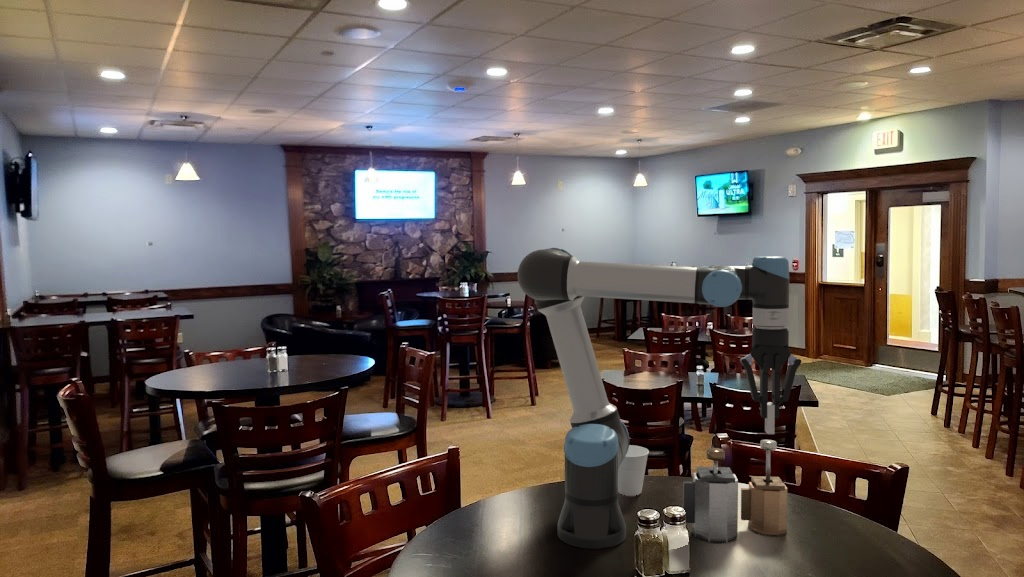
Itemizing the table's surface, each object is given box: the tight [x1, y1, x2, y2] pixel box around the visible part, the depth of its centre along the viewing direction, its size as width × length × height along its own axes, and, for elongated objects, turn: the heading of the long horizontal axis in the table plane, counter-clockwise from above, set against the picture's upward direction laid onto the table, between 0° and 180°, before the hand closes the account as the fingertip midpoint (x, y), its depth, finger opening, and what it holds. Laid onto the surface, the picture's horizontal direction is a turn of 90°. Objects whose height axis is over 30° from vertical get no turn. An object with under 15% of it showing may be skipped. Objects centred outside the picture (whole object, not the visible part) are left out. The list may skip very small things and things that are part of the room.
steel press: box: [682, 466, 739, 544], centre depth 160 cm, size 12×10×14 cm
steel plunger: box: [706, 447, 726, 483], centre depth 159 cm, size 7×7×13 cm
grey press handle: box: [754, 439, 779, 491], centre depth 162 cm, size 6×6×11 cm
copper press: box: [740, 475, 788, 538], centre depth 162 cm, size 10×8×11 cm
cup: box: [618, 444, 650, 497], centre depth 186 cm, size 10×10×11 cm
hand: (769, 432), depth 161 cm, fingers closed
